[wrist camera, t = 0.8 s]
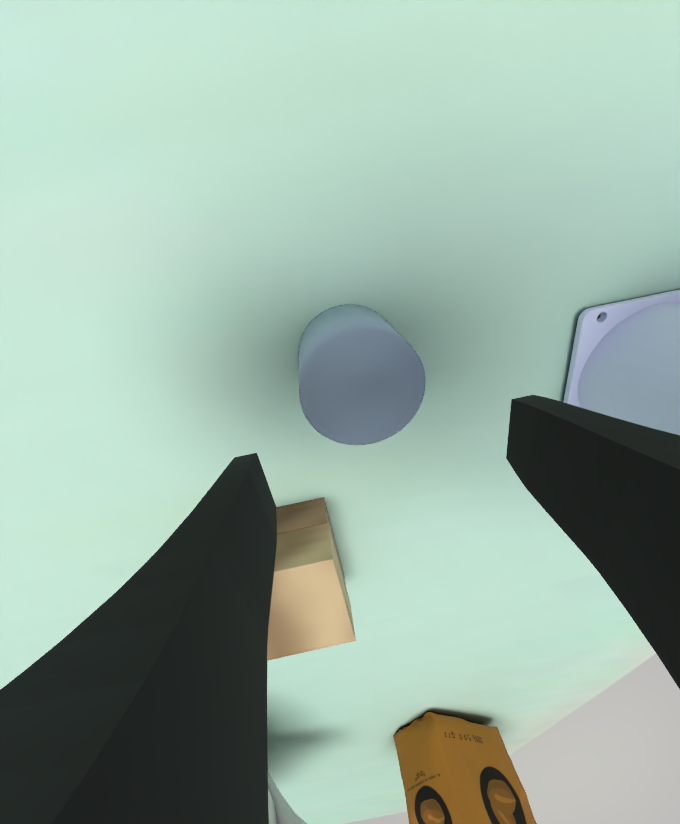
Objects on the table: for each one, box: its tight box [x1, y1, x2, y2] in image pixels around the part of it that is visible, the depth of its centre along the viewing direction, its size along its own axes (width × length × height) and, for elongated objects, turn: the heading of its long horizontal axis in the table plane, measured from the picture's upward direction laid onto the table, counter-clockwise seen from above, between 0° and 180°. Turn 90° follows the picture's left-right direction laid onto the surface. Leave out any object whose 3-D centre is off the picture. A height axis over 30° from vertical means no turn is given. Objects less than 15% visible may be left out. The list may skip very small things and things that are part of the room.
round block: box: [298, 304, 425, 445], centre depth 15 cm, size 5×5×4 cm
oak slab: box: [267, 523, 356, 660], centre depth 21 cm, size 8×8×2 cm
